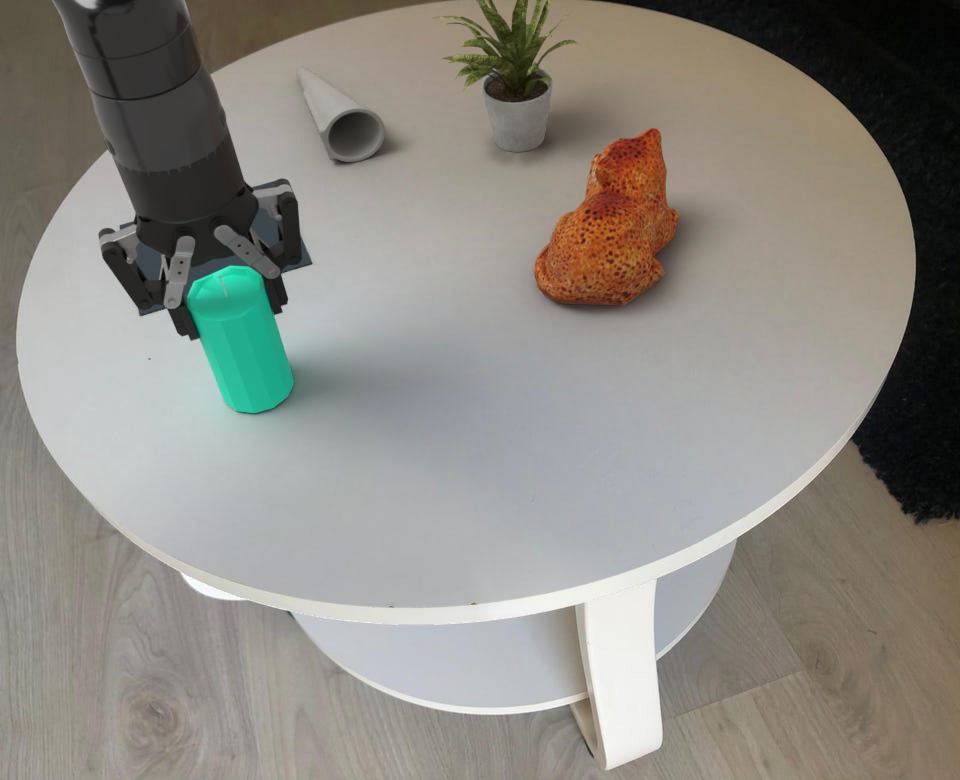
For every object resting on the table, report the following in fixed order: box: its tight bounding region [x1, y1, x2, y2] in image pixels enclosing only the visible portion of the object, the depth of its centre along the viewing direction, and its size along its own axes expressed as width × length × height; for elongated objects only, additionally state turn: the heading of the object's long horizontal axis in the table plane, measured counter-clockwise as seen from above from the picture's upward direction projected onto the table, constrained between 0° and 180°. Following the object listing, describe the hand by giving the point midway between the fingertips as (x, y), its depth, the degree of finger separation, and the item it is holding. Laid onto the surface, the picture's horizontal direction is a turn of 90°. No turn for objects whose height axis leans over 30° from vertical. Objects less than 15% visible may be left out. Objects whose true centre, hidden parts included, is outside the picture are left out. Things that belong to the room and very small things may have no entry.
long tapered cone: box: [295, 65, 386, 163], centre depth 107 cm, size 6×6×19 cm
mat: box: [118, 180, 313, 317], centre depth 95 cm, size 16×14×1 cm
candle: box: [187, 266, 295, 414], centre depth 77 cm, size 6×6×12 cm
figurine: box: [533, 127, 681, 306], centre depth 85 cm, size 15×11×10 cm
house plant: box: [433, 0, 582, 153], centre depth 97 cm, size 14×14×16 cm
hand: (234, 319), depth 76 cm, fingers closed on candle, 6 cm apart
